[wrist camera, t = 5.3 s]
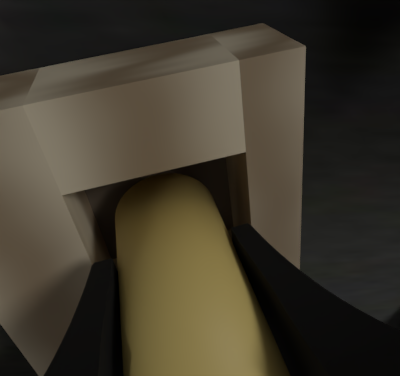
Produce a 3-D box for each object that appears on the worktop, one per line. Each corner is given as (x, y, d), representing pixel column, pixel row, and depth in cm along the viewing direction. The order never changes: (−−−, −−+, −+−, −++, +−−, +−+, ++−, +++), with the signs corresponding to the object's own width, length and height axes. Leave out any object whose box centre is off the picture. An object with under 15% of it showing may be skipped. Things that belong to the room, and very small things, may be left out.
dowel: (204, 160, 14) (296, 355, 7) (222, 237, 16) (304, 436, 10) (99, 191, 14) (99, 422, 7) (133, 265, 16) (156, 489, 9)
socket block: (262, 23, 14) (305, 46, 11) (271, 255, 20) (298, 306, 18) (-83, 92, 12) (-138, 139, 10) (50, 314, 19) (41, 379, 16)
